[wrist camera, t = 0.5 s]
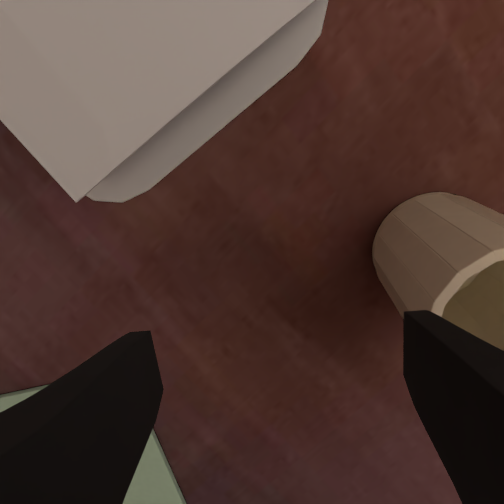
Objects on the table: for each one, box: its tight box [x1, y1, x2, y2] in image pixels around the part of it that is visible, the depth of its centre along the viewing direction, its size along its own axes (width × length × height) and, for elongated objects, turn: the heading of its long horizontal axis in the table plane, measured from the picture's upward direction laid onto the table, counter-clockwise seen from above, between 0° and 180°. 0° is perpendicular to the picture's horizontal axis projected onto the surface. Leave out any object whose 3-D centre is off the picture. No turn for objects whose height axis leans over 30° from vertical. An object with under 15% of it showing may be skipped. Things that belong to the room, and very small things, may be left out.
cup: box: [372, 192, 504, 351], centre depth 17 cm, size 6×6×8 cm
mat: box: [0, 384, 186, 504], centre depth 26 cm, size 12×12×1 cm
